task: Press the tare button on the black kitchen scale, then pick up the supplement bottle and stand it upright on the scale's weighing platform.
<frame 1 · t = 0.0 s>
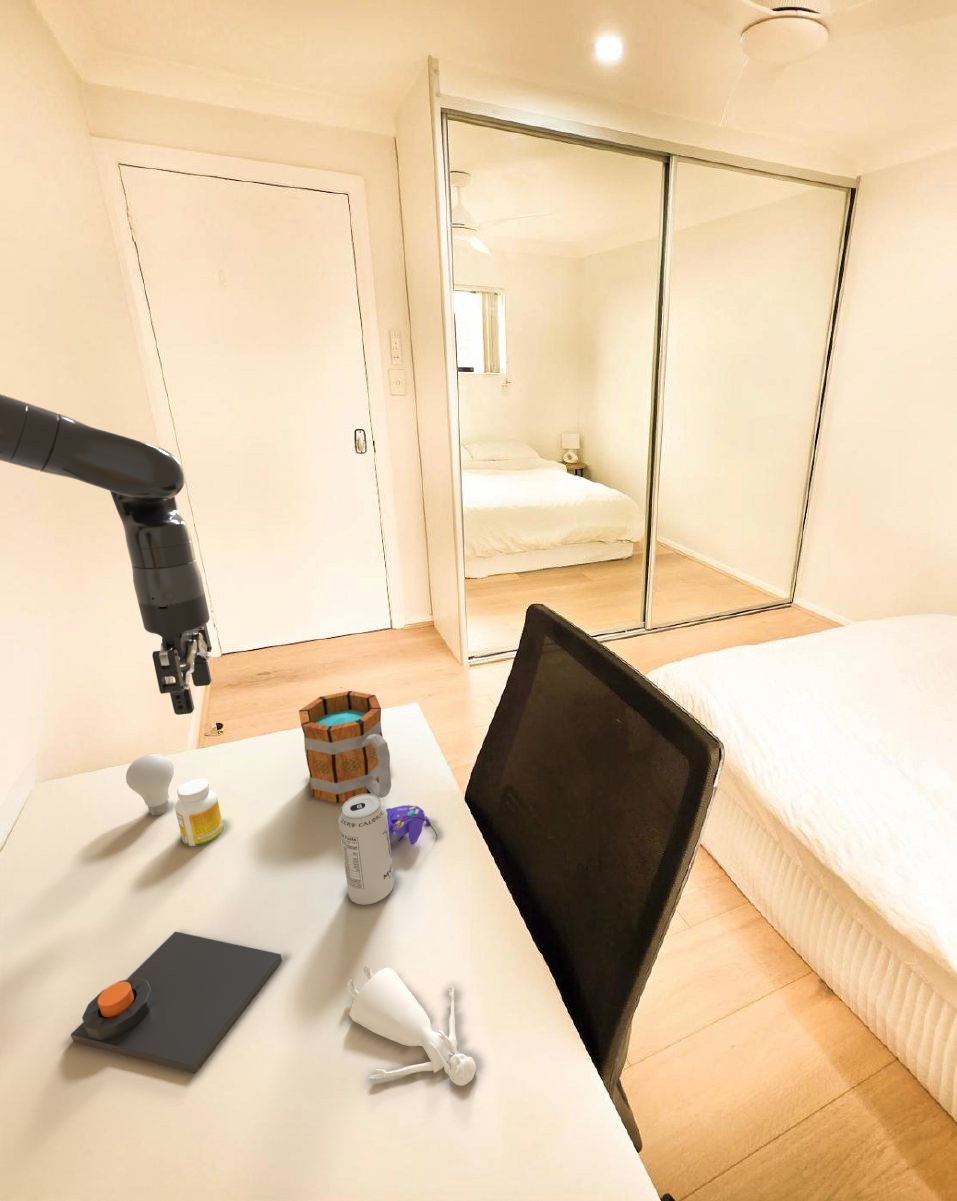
hand: (194, 698, 86), 24 cm above the table, tool pointing down, fingers open, 8 cm apart
lightbulb: (161, 815, 97), on the table
mug: (358, 790, 105), on the table
tare button: (116, 999, 64), point 4 cm above the table, slide at 0.1 cm
game controller: (404, 838, 94), on the table
supplement bottle: (204, 838, 92), on the table
energy drink can: (372, 893, 83), on the table
woman figurine: (412, 1037, 65), on the table
scale: (186, 1003, 68), on the table
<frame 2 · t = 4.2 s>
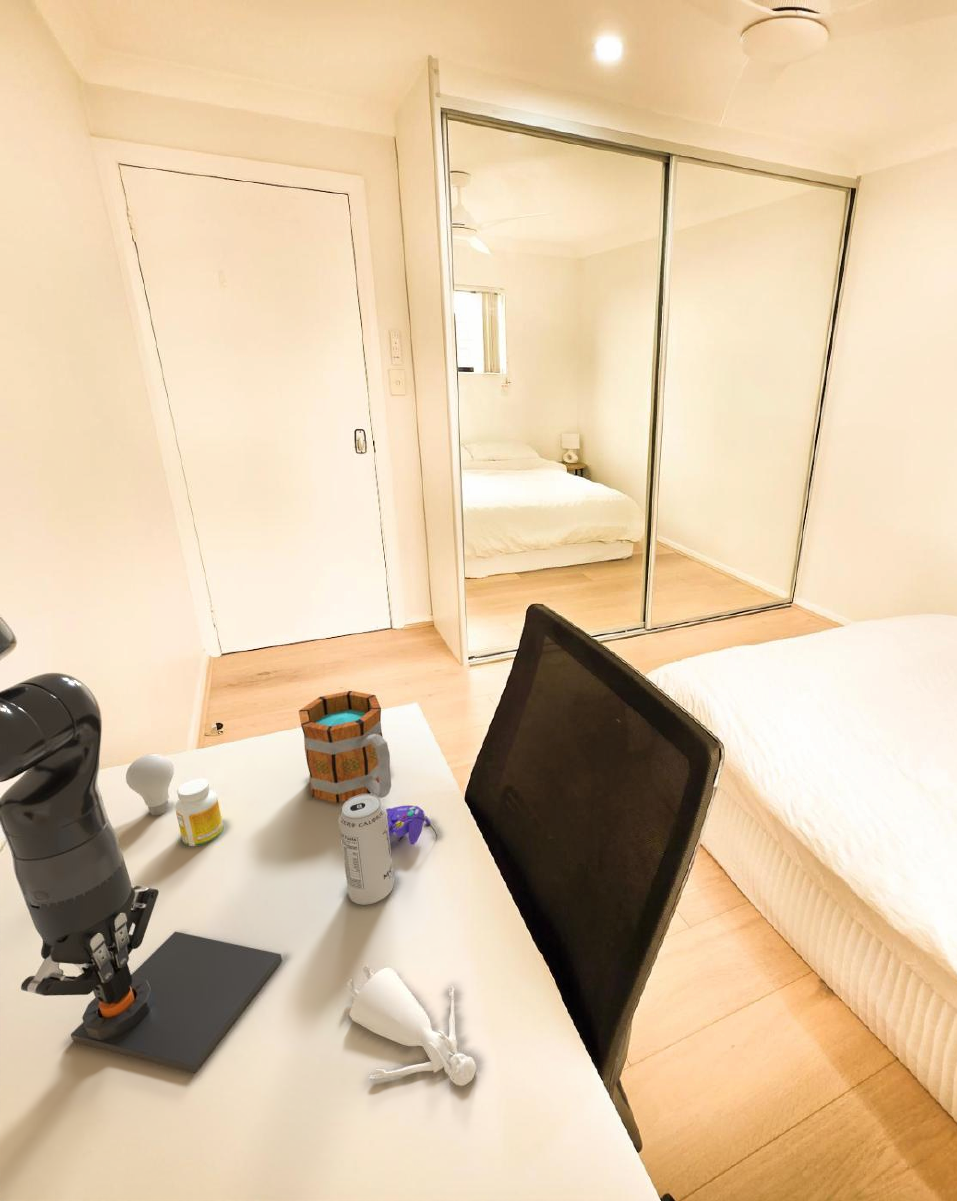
hand: (116, 996, 64), 4 cm above the table, tool pointing down, fingers closed
tare button: (117, 1002, 64), point 4 cm above the table, slide at -0.4 cm, touching gripper
everything else where it was.
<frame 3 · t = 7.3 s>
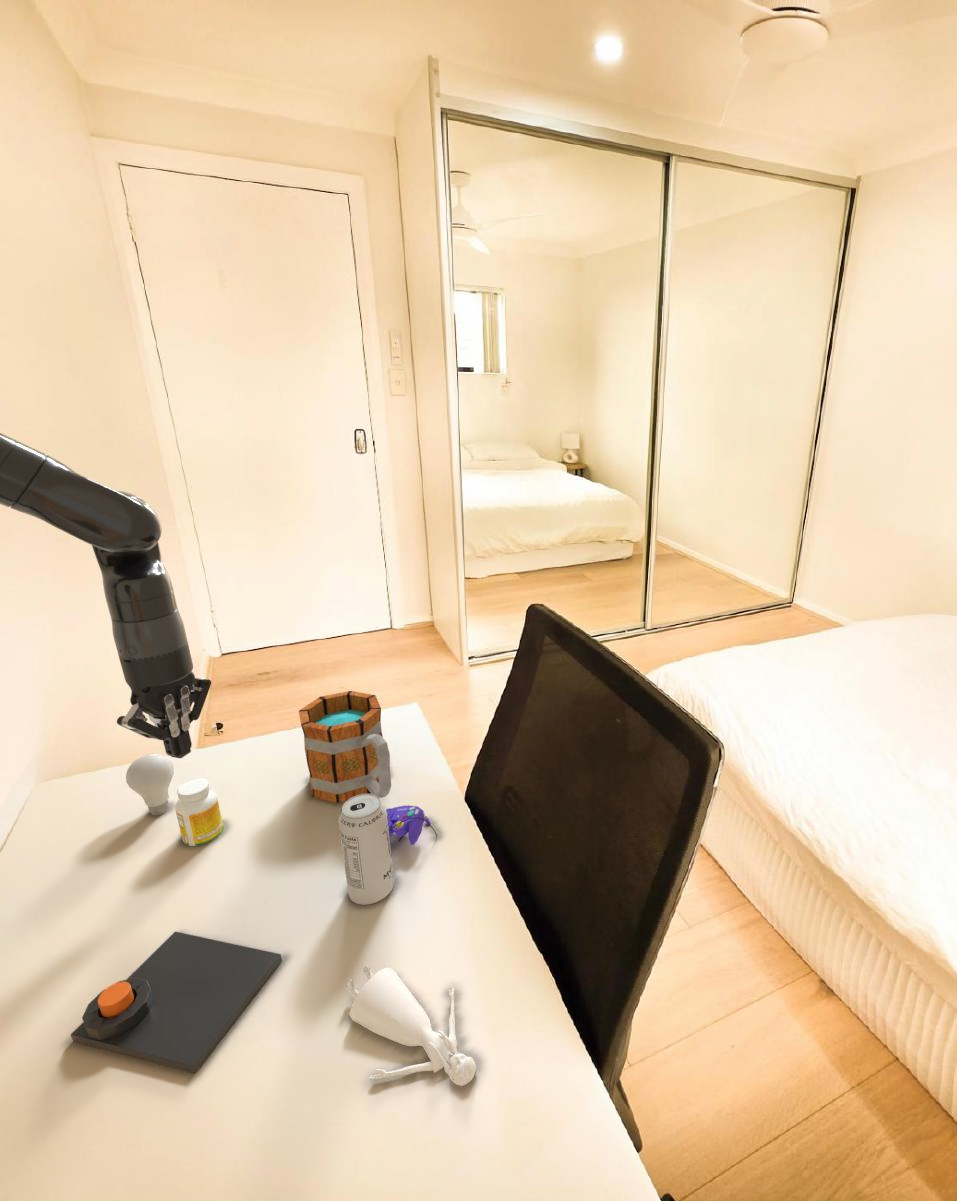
hand: (180, 754, 84), 17 cm above the table, tool pointing down, fingers closed
tare button: (116, 999, 64), point 4 cm above the table, slide at 0.1 cm
everything else where it was.
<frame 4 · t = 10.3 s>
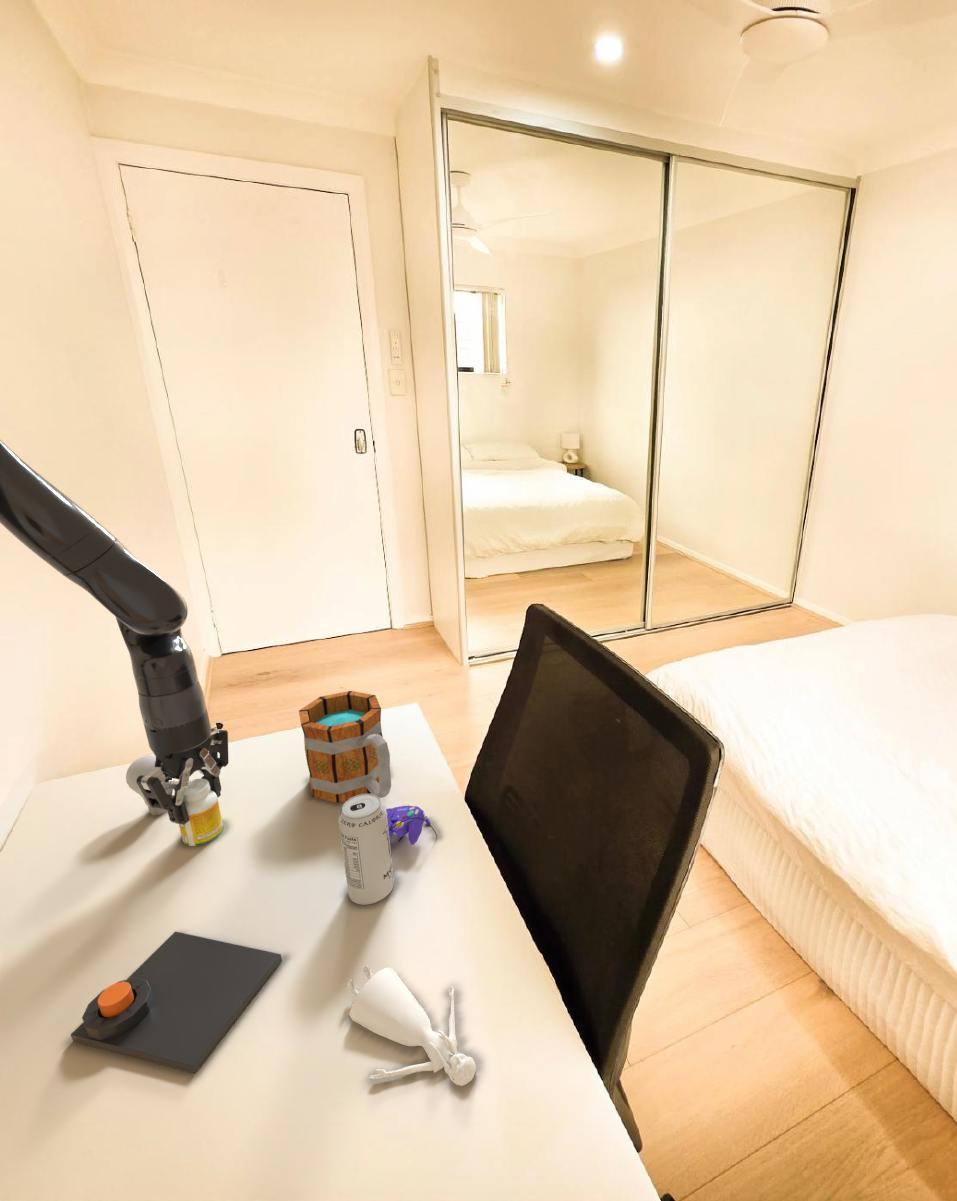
hand: (197, 809, 90), 5 cm above the table, tool pointing down, fingers closed on supplement bottle, 5 cm apart
supplement bottle: (204, 838, 92), on the table, touching gripper
everything else where it was.
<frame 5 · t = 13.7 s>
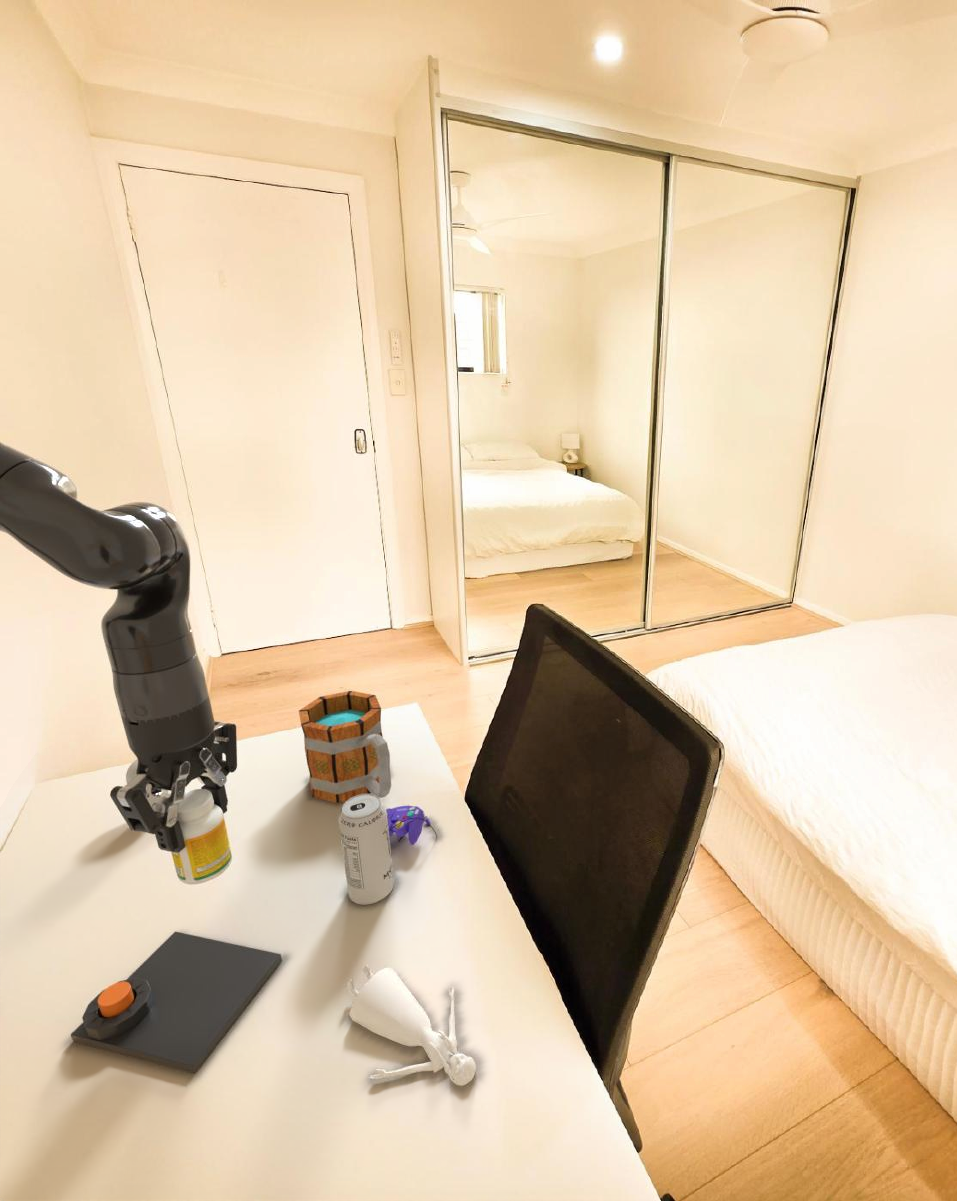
hand: (196, 830, 67), 20 cm above the table, tool pointing down, fingers closed on supplement bottle, 5 cm apart
supplement bottle: (206, 869, 69), point 14 cm above the table, touching gripper
everything else where it was.
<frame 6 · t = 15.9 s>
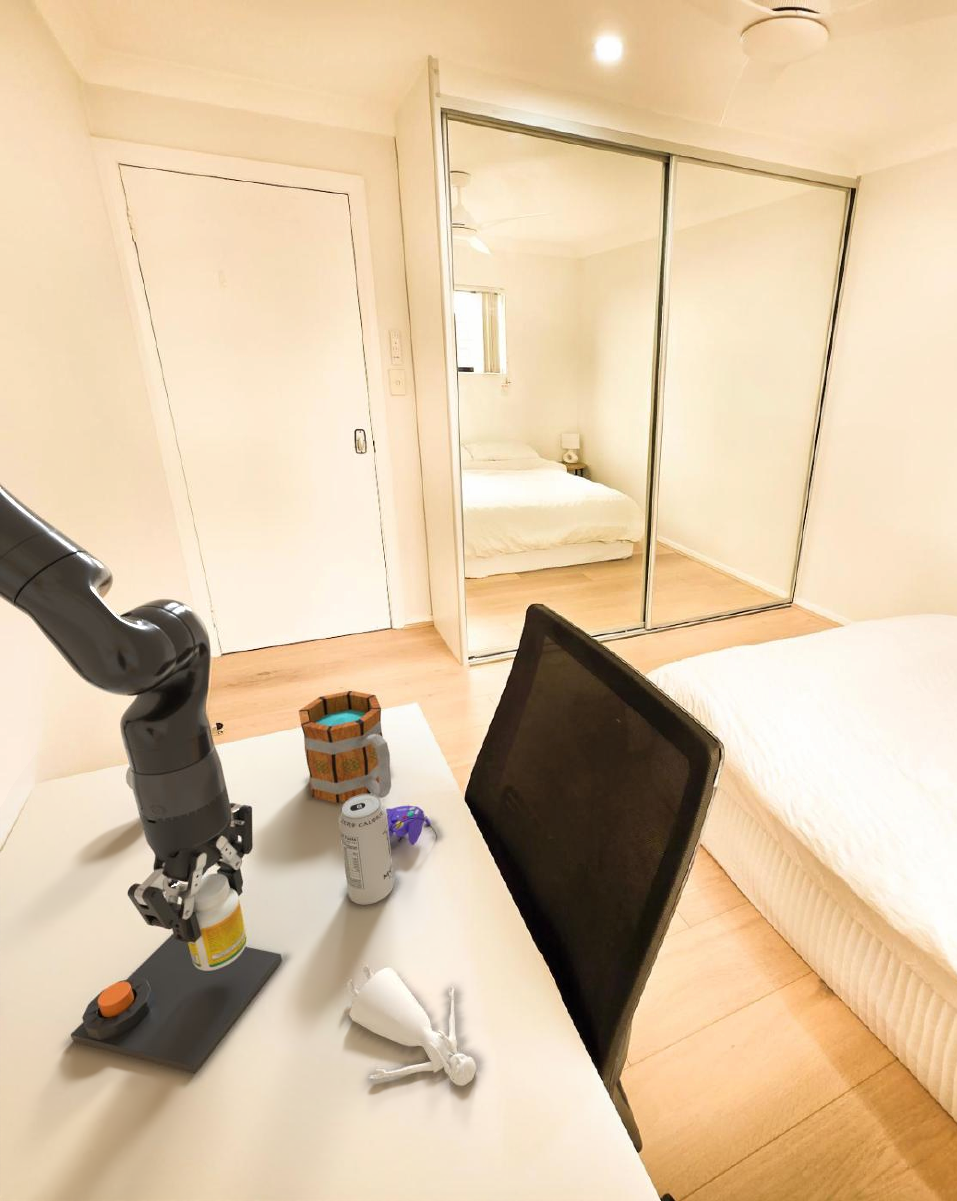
hand: (212, 915, 66), 11 cm above the table, tool pointing down, fingers closed on supplement bottle, 5 cm apart
supplement bottle: (221, 952, 68), point 5 cm above the table, touching gripper
everything else where it was.
when the fingers open (7 cm above the table, at t = 17.5 s): supplement bottle stays where it is, resting on scale.
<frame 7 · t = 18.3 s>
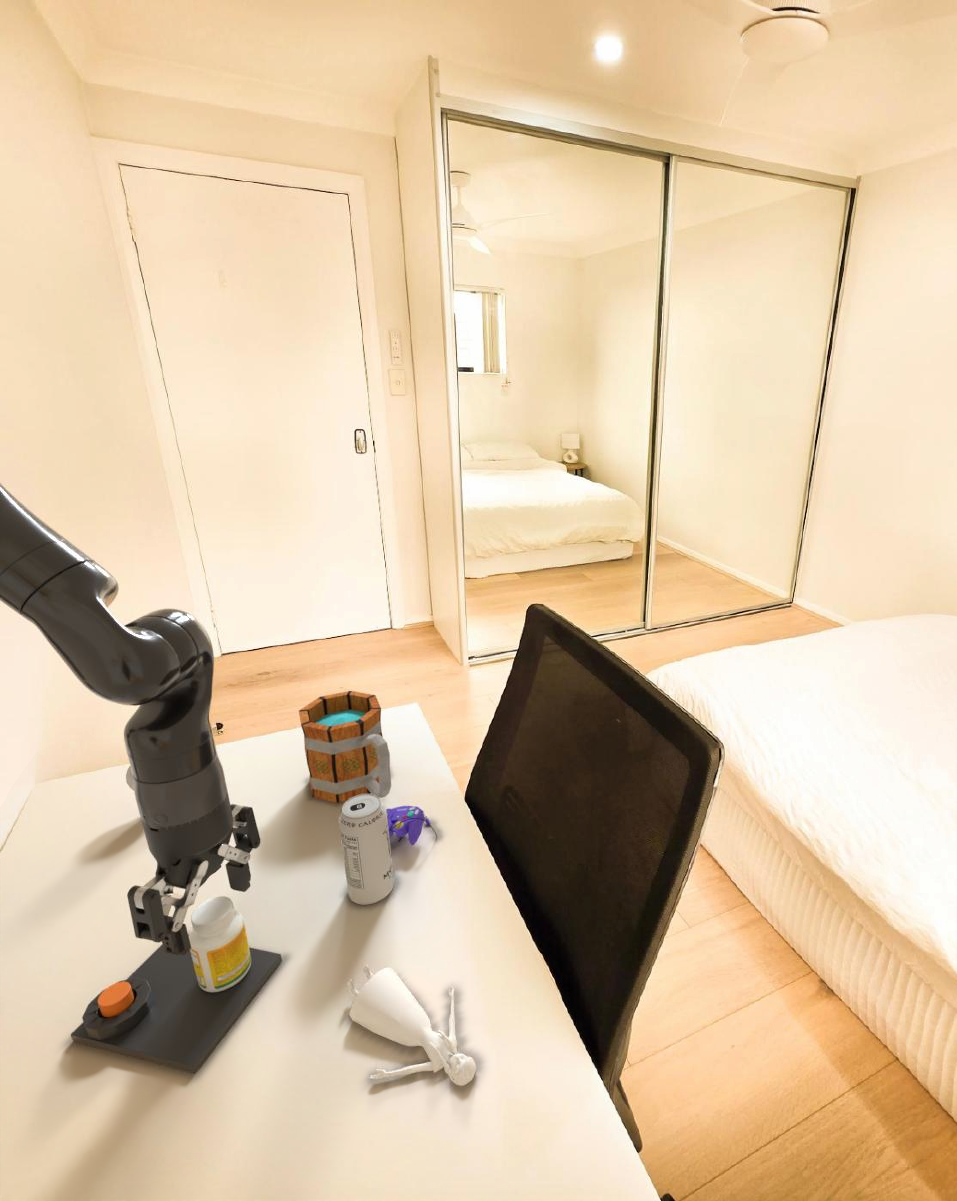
hand: (212, 918, 67), 10 cm above the table, tool pointing down, fingers open, 8 cm apart
supplement bottle: (226, 973, 69), point 2 cm above the table, touching scale
everything else where it was.
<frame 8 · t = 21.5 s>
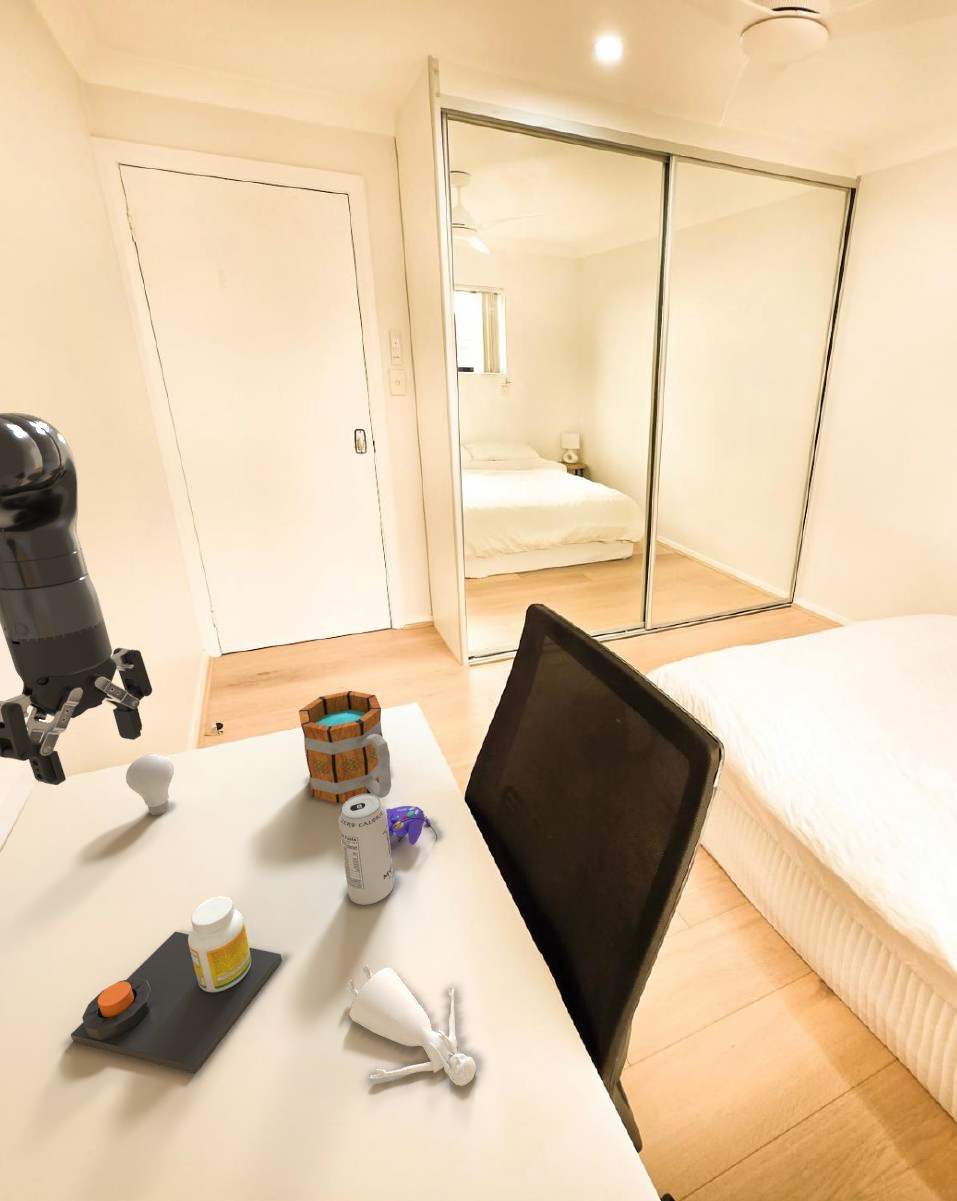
hand: (94, 758, 65), 28 cm above the table, tool pointing down, fingers open, 8 cm apart
nothing on the table moved.
at the end: tare button pushed in 0.9 cm at the most during the clip, back to where it started at the end; supplement bottle inside the target area on the scale (3.6 cm from its centre), point 1.7 cm above the scale's base; supplement bottle touching scale; supplement bottle tilted 0° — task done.
